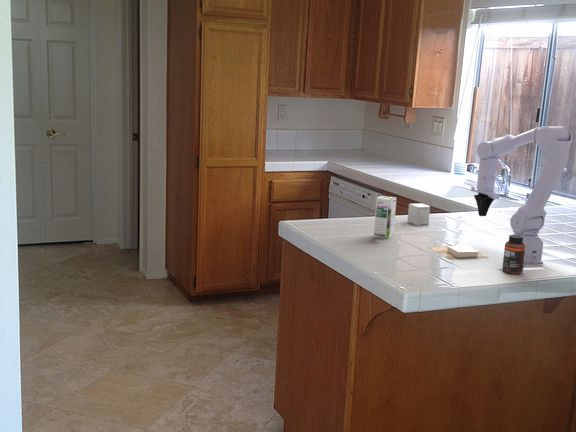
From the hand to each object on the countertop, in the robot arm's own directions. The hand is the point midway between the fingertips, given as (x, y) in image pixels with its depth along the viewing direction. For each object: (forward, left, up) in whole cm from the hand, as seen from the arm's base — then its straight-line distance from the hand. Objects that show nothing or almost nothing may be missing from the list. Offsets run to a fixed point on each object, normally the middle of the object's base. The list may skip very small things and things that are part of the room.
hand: (482, 215), depth 229 cm
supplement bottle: (-30, +7, -11) cm, 33 cm away
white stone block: (+33, +7, -11) cm, 35 cm away
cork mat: (-10, +14, -10) cm, 20 cm away
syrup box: (+14, +30, -11) cm, 35 cm away
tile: (-9, +14, -9) cm, 19 cm away
